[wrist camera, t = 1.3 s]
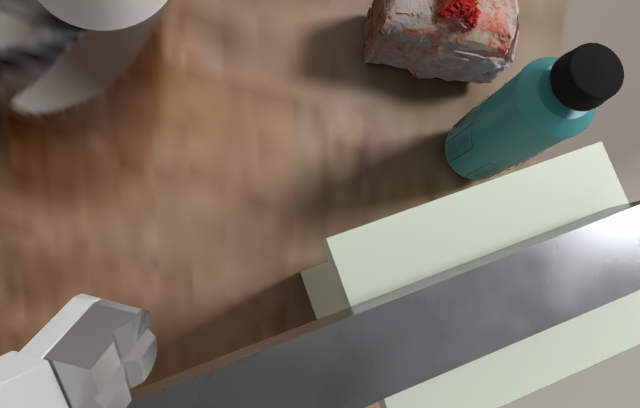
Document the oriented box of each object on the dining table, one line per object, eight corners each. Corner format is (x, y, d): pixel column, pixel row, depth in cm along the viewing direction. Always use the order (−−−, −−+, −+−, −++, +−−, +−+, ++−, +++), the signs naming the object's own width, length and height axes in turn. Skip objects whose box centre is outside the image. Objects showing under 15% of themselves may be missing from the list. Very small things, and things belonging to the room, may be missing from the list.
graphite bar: (156, 468, 18) (137, 503, 15) (132, 390, 18) (110, 409, 16) (636, 269, 22) (695, 266, 19) (609, 207, 22) (663, 195, 19)
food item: (486, 28, 53) (538, -30, 43) (484, 96, 52) (536, 53, 42) (364, 7, 52) (390, -57, 42) (358, 77, 50) (383, 28, 40)
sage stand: (318, 357, 45) (402, 450, 19) (286, 265, 46) (326, 238, 20) (452, 304, 47) (682, 324, 22) (419, 217, 48) (601, 141, 23)
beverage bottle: (481, 196, 50) (629, 137, 30) (425, 165, 49) (536, 86, 30) (505, 143, 51) (662, 53, 31) (450, 112, 51) (573, 3, 31)
